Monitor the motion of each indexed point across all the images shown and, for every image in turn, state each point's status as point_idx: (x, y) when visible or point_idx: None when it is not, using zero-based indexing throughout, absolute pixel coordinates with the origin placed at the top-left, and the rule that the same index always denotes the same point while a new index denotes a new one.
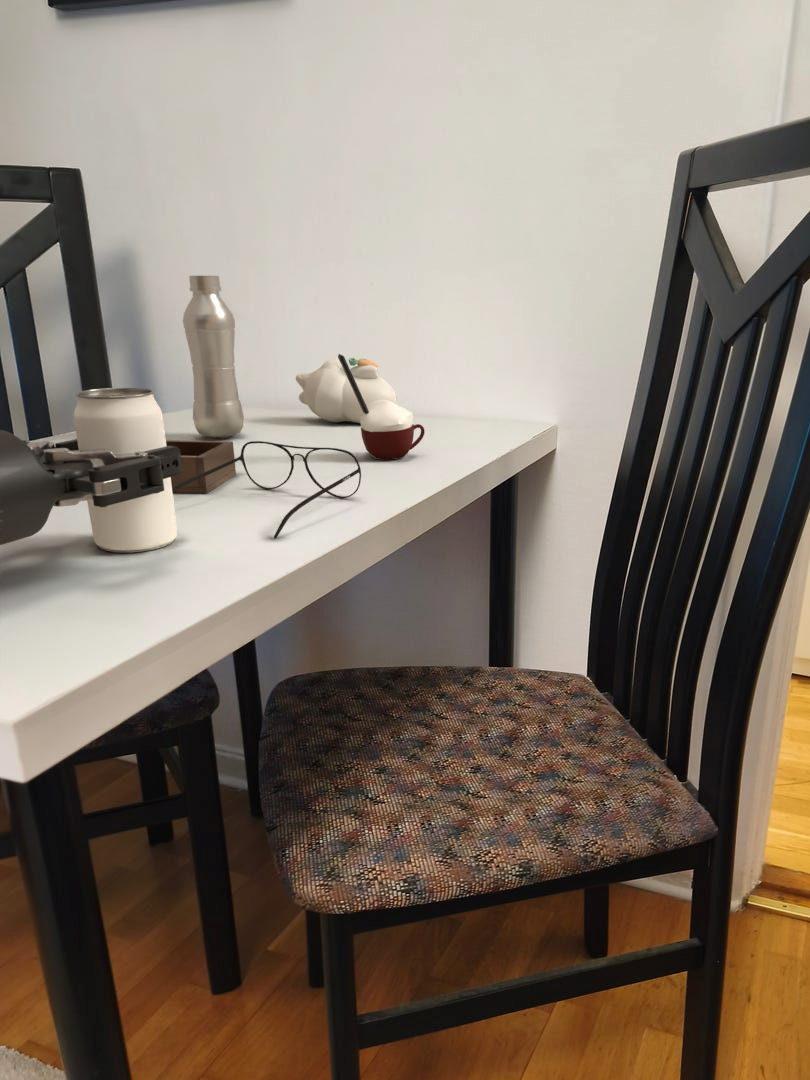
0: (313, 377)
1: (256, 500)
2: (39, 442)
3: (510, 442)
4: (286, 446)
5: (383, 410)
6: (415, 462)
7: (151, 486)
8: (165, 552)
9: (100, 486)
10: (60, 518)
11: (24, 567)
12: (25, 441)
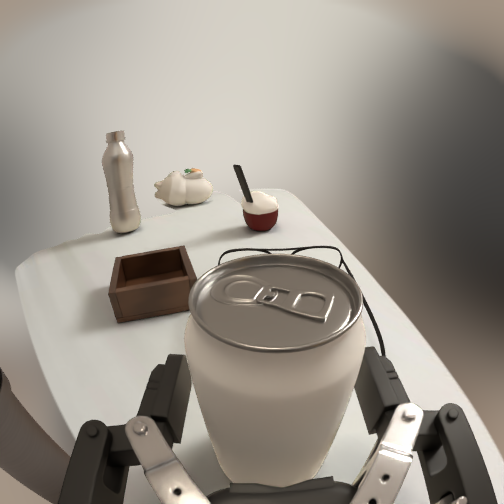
0: (166, 182)
1: None
2: (171, 475)
3: (297, 205)
4: (271, 250)
5: (263, 198)
6: (285, 229)
7: (440, 448)
8: (336, 459)
9: None
10: (109, 404)
11: None
12: (97, 429)
